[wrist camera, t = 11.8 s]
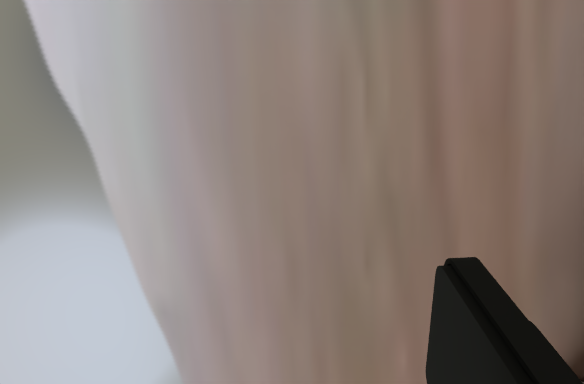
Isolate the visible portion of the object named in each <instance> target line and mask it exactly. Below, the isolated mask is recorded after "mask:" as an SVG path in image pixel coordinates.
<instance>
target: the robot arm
mask: <svg viewBox="0 0 584 384" xmlns="http://www.w3.org/2000/svg"><path fill="white" fill-rule="evenodd" d="M426 379H427V384H584V382H581V380H580V379H579V378H578V377H577V376H576V374H575V373H574V372H573V371H572V369H571V368H570V367H569V366H568V365H567V363H566V362H565V361H564V360H563V359H562V357H561V356H560V355H559V354H558V352H557V351H556V350H555V349H554V348H553V346H552V345H551V344H550V343H549V342H548V340H547V339H546V338H545V337H544V335H543V334H542V333H541V332H540V331H539V329H538V328H537V327H536V326H535V325H534V324H533V323H532V322H531V321H529V320H528V319H527V318H526V317H525V316H524V314H523V313H522V312H521V311H520V309H519V308H518V307H517V306H516V305H515V303H514V302H513V301H512V300H511V298H510V297H509V296H508V295H507V293H506V292H505V291H504V290H503V289H502V287H501V286H500V285H499V284H498V282H497V281H496V280H495V279H494V278H493V276H492V275H491V274H490V273H489V271H488V270H487V269H486V268H485V266H484V265H483V264H482V263H481V262H480V260H479V259H477V258H476V257H467V258H448V259H447V260H446V261H445V264H444V266H438V267H437V269H436V274H435V284H434V293H433V303H432V313H431V323H430V333H429V343H428V352H427V362H426Z"/></svg>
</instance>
